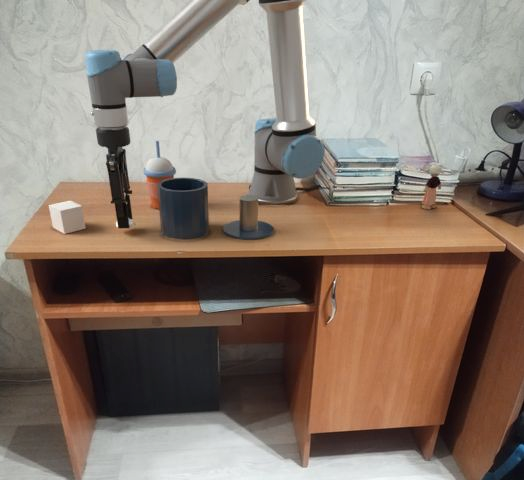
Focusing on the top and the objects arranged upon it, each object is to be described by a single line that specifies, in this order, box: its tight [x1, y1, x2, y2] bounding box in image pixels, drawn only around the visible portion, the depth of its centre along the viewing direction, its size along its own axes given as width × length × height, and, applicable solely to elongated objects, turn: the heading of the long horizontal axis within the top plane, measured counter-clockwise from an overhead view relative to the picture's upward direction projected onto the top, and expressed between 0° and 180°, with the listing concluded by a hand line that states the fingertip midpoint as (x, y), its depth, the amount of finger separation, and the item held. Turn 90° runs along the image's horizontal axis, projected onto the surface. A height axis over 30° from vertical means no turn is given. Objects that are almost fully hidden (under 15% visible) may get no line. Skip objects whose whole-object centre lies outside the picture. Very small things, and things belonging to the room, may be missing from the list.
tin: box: [157, 177, 210, 241], centre depth 132 cm, size 12×12×12 cm
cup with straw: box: [142, 140, 177, 210], centre depth 148 cm, size 9×9×18 cm
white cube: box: [48, 200, 87, 235], centre depth 134 cm, size 6×6×6 cm
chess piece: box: [115, 193, 136, 229], centre depth 131 cm, size 5×5×10 cm
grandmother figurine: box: [421, 163, 442, 210], centre depth 154 cm, size 8×4×13 cm, turn 139°
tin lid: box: [222, 194, 275, 241], centre depth 134 cm, size 13×13×9 cm
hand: (125, 223), depth 133 cm, fingers closed on chess piece, 5 cm apart
